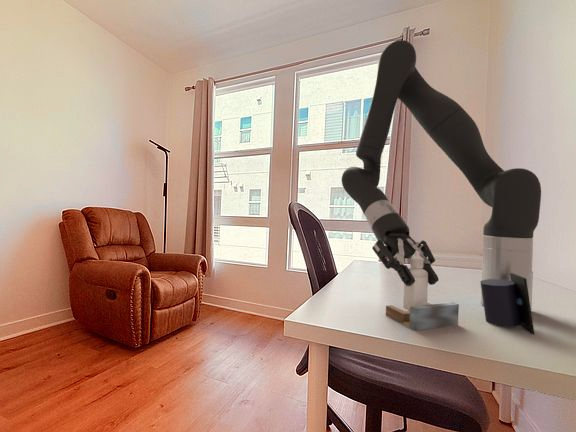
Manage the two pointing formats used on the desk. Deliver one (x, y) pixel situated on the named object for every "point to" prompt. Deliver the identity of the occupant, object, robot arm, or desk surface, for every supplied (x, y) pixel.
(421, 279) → the eye dropper bottle
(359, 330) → the desk surface
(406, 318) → the grey brown angular piece
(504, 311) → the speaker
